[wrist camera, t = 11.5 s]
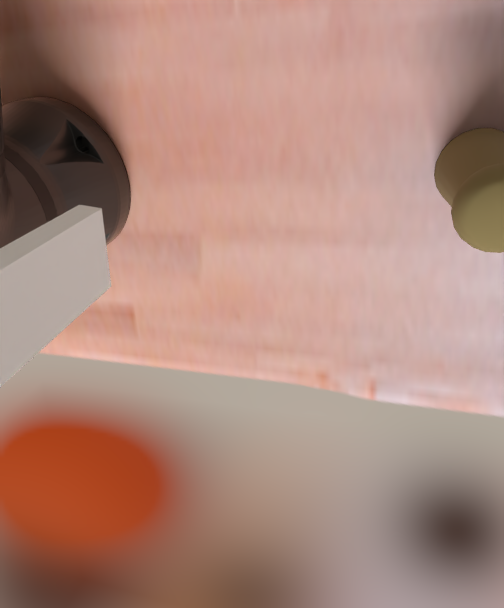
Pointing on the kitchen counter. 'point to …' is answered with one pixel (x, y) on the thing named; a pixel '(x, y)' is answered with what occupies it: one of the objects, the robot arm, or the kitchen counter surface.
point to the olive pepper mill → (475, 186)
